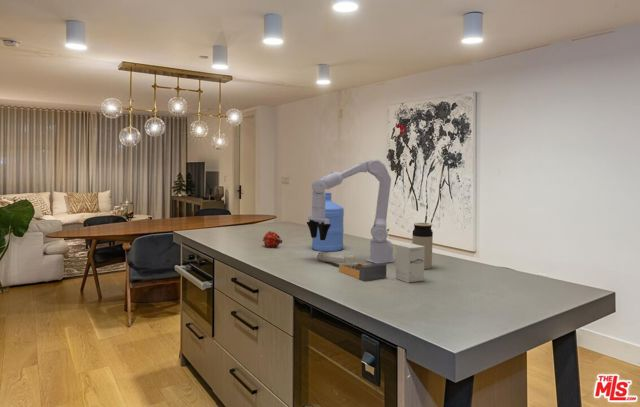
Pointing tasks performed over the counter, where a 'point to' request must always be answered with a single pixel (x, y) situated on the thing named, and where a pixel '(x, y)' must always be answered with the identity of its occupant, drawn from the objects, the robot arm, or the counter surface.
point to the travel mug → (424, 241)
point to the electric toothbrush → (338, 259)
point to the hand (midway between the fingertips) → (318, 238)
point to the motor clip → (365, 271)
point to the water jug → (331, 228)
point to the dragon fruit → (272, 239)
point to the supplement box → (410, 262)
